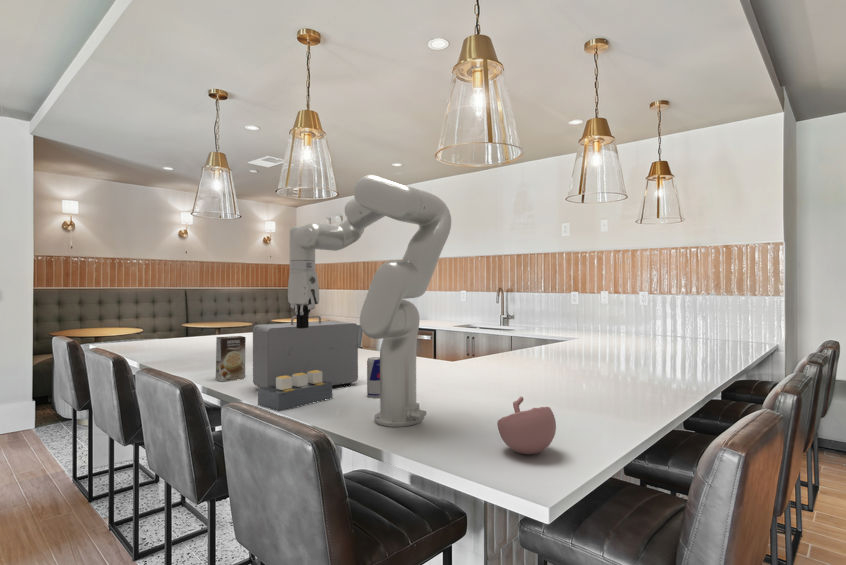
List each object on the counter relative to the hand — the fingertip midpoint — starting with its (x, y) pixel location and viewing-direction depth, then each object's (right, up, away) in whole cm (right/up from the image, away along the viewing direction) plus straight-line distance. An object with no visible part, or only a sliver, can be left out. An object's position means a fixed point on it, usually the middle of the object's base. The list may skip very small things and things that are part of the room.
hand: (302, 327), depth 141 cm
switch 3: (+3, -17, +4) cm, 18 cm away
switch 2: (-1, -17, 0) cm, 17 cm away
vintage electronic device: (-5, -23, +23) cm, 33 cm away
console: (-2, -23, +1) cm, 23 cm away
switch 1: (-4, -17, -4) cm, 18 cm away
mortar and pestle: (+58, -22, -42) cm, 75 cm away
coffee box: (-37, -23, +36) cm, 56 cm away
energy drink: (+21, -23, +8) cm, 32 cm away
